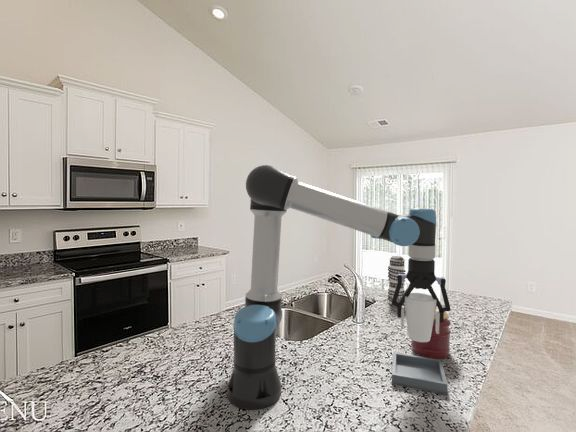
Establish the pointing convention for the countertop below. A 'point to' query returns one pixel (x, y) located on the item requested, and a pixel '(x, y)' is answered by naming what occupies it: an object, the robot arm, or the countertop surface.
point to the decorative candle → (395, 276)
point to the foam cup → (420, 316)
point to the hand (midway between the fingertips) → (419, 329)
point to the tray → (419, 373)
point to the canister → (435, 341)
